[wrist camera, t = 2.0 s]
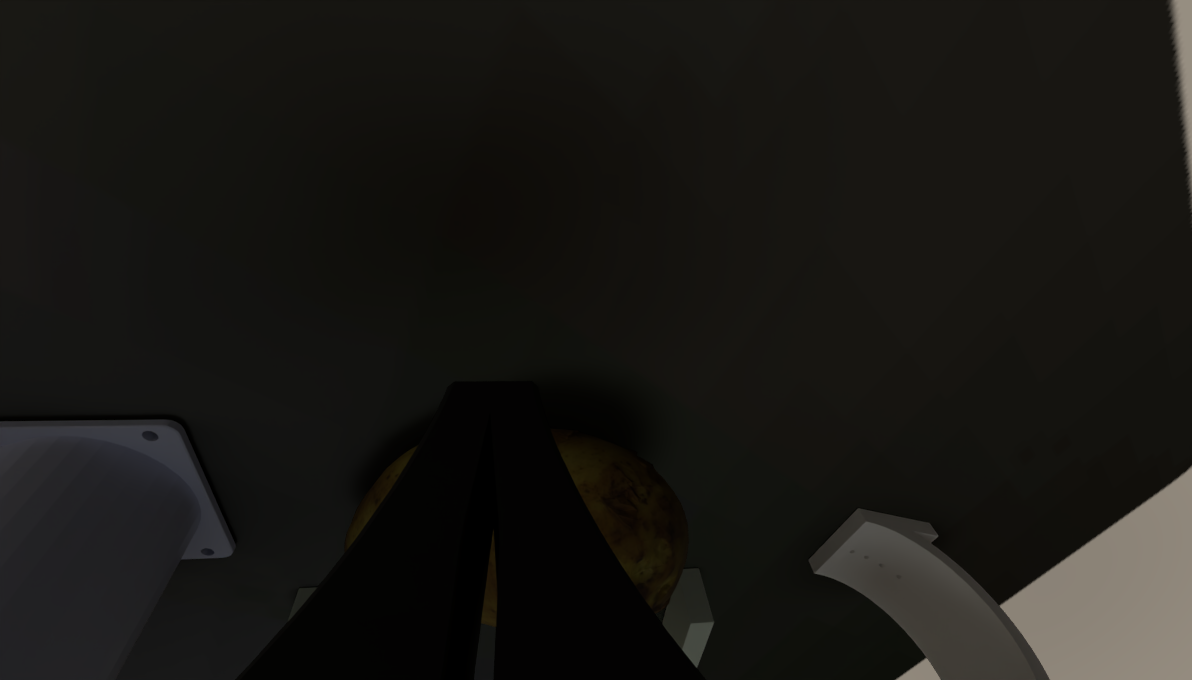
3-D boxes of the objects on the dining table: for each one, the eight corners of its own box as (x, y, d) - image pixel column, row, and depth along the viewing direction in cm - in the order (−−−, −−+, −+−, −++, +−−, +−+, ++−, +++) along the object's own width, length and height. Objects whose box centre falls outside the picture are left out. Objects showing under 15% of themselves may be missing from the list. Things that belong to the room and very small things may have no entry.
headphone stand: (857, 507, 29) (1027, 790, 20) (943, 525, 31) (1137, 793, 21) (807, 560, 32) (936, 837, 22) (889, 574, 34) (1042, 835, 24)
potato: (326, 388, 21) (243, 584, 15) (663, 370, 23) (721, 543, 16) (372, 527, 26) (324, 722, 20) (648, 505, 28) (688, 681, 21)
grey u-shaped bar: (346, 716, 36) (333, 772, 34) (299, 588, 28) (278, 649, 26) (660, 691, 39) (669, 741, 37) (698, 568, 31) (714, 622, 28)
